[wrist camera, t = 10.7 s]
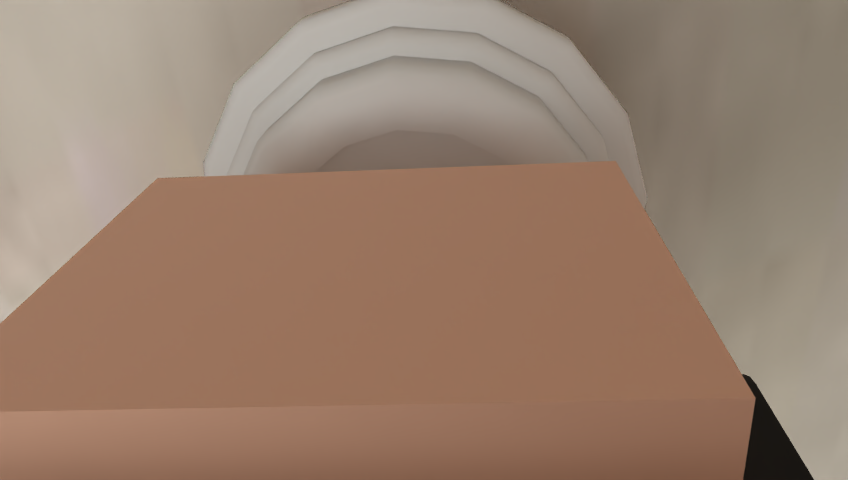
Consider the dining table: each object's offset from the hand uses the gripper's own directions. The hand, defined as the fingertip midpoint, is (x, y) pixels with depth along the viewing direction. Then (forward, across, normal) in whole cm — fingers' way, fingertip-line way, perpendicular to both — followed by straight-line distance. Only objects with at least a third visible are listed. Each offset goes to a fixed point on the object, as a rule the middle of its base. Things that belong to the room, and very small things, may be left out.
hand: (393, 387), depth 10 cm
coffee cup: (+16, 0, 0) cm, 16 cm away
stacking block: (+1, 0, 0) cm, 1 cm away
